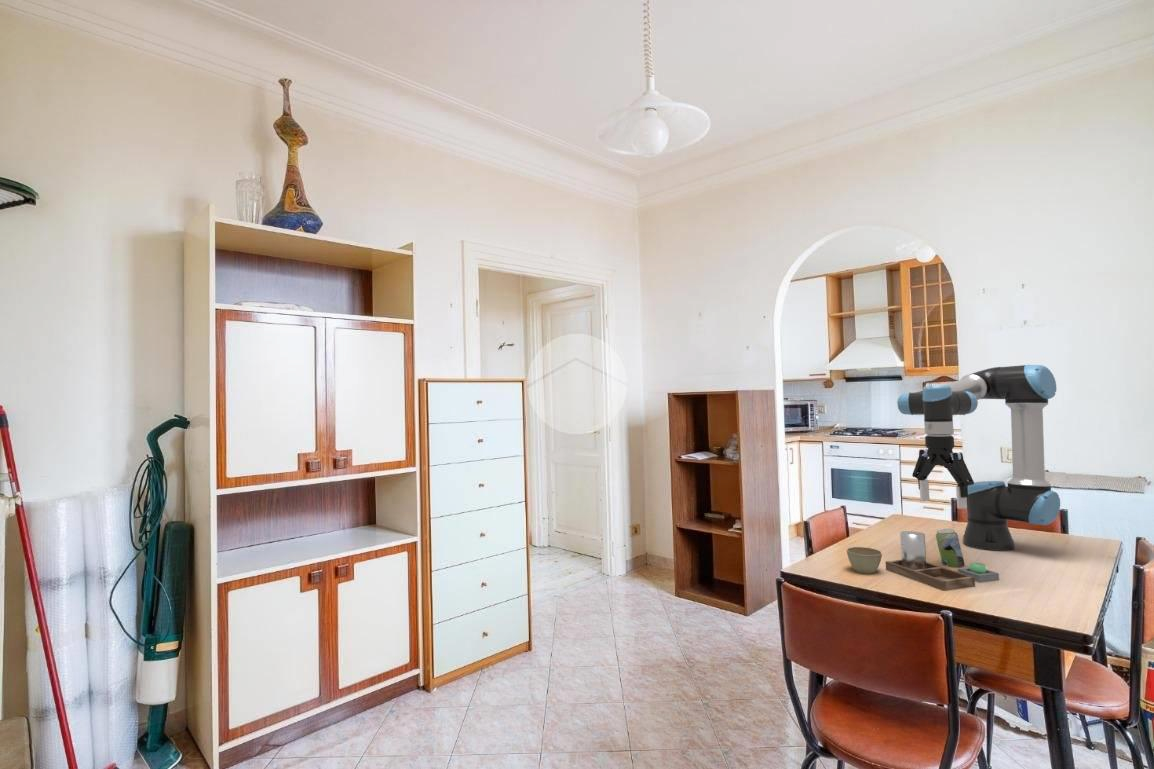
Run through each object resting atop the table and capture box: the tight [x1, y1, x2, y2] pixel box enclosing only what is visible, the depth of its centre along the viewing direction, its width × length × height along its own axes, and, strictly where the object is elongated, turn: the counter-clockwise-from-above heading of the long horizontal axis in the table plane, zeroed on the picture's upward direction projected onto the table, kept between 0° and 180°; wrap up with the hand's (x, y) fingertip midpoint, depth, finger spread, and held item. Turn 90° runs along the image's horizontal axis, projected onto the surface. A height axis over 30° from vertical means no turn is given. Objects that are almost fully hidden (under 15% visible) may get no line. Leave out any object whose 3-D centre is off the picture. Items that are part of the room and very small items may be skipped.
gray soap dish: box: [957, 566, 1000, 583], centre depth 166 cm, size 7×7×3 cm
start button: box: [969, 562, 987, 574], centre depth 166 cm, size 4×4×3 cm
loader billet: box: [899, 530, 927, 570], centre depth 173 cm, size 7×7×12 cm
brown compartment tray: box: [885, 559, 976, 592], centre depth 168 cm, size 11×21×4 cm, turn 13°
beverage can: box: [935, 528, 965, 568], centre depth 180 cm, size 6×7×12 cm
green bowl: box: [846, 546, 883, 574], centre depth 177 cm, size 10×10×7 cm
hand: (942, 504), depth 172 cm, fingers open, 13 cm apart
